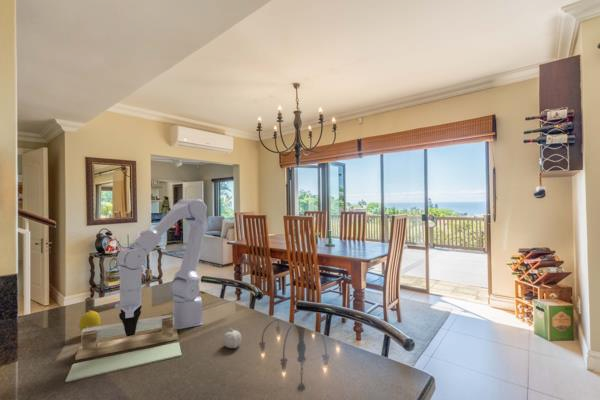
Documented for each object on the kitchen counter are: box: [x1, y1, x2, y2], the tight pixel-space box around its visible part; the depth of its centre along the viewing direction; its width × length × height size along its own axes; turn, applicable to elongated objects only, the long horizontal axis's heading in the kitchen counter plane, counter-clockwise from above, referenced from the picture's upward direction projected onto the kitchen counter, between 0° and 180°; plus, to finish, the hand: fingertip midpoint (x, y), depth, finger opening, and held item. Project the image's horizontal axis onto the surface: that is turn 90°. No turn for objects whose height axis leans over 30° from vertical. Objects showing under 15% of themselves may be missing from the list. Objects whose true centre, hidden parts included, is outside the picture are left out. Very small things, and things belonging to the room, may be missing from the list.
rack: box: [75, 313, 179, 361], centre depth 89 cm, size 26×6×6 cm, turn 117°
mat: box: [64, 341, 182, 383], centre depth 80 cm, size 26×8×1 cm, turn 117°
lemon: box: [78, 309, 101, 333], centre depth 95 cm, size 6×6×8 cm
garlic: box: [222, 327, 242, 349], centre depth 88 cm, size 6×5×5 cm
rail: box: [80, 313, 174, 343], centre depth 89 cm, size 24×3×3 cm, turn 117°
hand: (130, 333), depth 89 cm, fingers closed on rail, 3 cm apart
